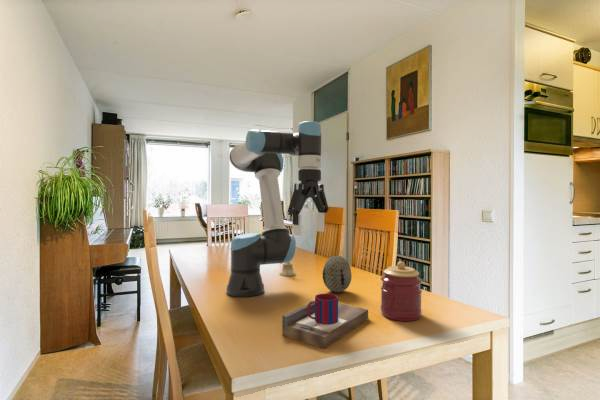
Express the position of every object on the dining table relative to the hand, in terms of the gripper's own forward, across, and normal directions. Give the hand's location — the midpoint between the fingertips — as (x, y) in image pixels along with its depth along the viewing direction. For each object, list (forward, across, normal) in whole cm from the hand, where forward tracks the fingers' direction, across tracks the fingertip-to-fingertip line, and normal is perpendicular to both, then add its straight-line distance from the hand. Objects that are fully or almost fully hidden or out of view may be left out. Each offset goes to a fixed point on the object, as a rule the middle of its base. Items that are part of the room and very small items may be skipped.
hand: (309, 233), depth 112 cm
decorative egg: (+27, +27, +5) cm, 38 cm away
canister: (+27, +17, -25) cm, 40 cm away
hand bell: (+27, +39, +40) cm, 62 cm away
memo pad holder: (+27, -6, -11) cm, 29 cm away
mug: (+24, -11, -12) cm, 29 cm away
